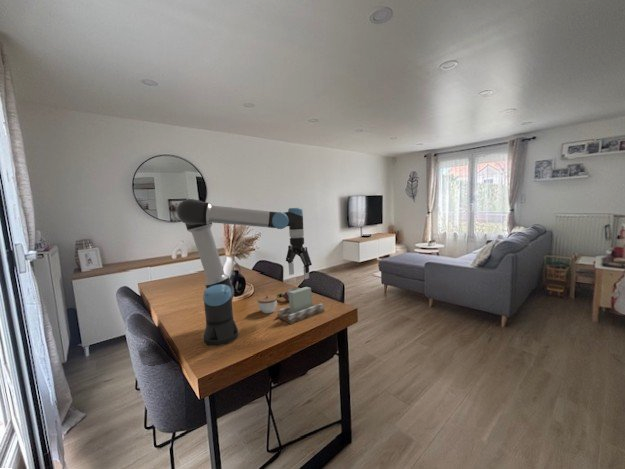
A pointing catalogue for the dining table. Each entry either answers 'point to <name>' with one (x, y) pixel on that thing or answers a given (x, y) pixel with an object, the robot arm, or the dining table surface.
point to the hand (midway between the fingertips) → (298, 276)
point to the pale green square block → (300, 299)
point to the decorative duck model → (286, 294)
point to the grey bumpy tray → (300, 313)
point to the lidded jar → (267, 303)
